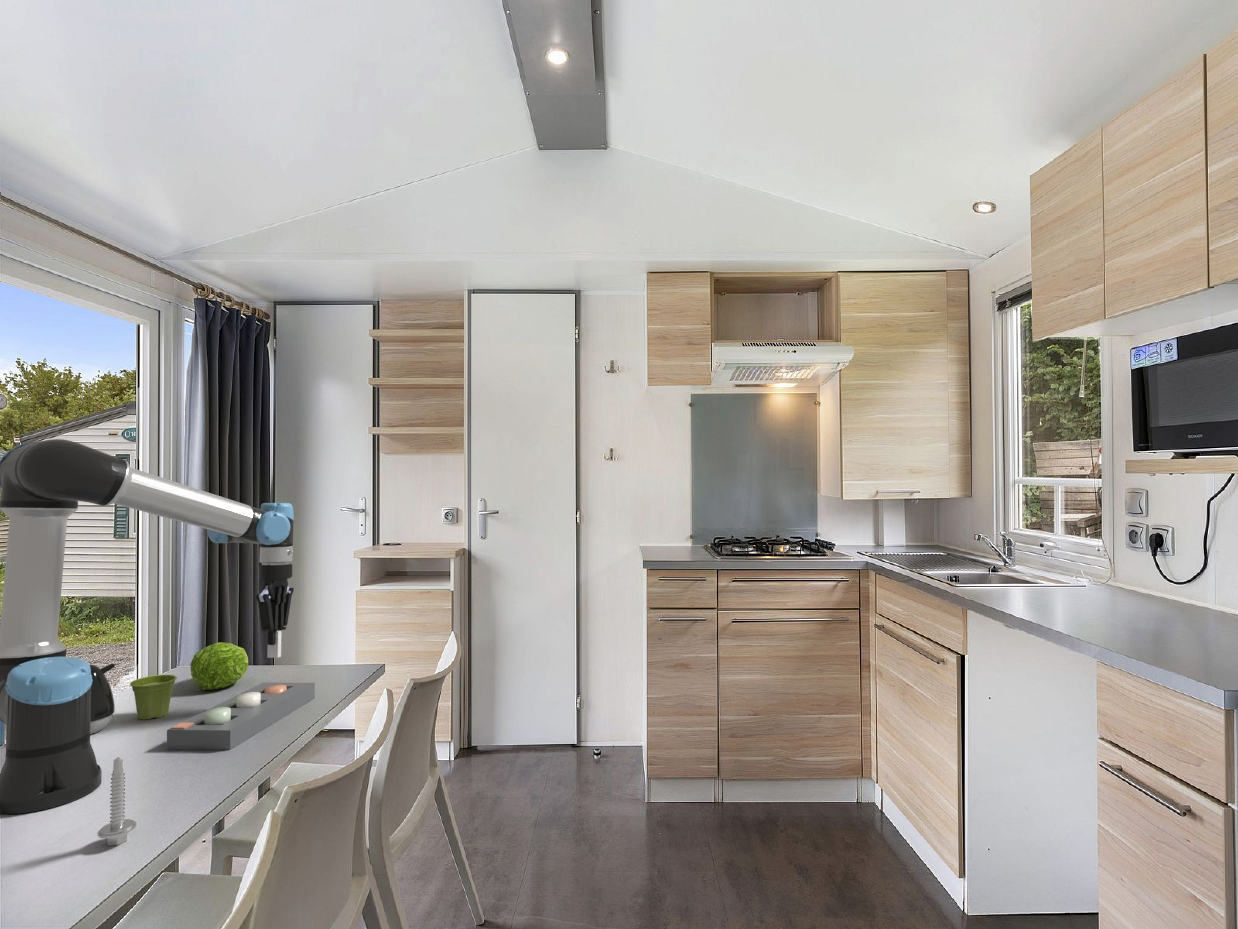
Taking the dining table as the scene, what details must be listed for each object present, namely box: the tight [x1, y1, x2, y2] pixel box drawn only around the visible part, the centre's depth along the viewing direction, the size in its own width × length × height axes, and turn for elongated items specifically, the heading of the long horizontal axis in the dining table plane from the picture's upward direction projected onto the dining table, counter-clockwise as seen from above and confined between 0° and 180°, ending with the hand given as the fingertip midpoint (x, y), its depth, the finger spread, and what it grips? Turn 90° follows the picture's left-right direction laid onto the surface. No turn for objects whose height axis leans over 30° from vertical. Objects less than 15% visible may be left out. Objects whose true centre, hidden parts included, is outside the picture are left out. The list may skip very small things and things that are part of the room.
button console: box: [166, 682, 316, 751], centre depth 157 cm, size 34×14×4 cm, turn 176°
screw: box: [96, 756, 137, 847], centre depth 103 cm, size 13×5×5 cm
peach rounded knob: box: [264, 685, 287, 693], centre depth 168 cm, size 5×5×4 cm
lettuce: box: [190, 642, 249, 691], centre depth 189 cm, size 13×22×14 cm
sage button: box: [204, 707, 231, 725], centre depth 146 cm, size 5×5×4 cm
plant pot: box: [129, 673, 178, 720], centre depth 162 cm, size 9×9×9 cm
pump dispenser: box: [89, 663, 116, 735], centre depth 151 cm, size 10×10×15 cm
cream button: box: [236, 692, 261, 708], centre depth 157 cm, size 5×5×4 cm
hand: (274, 657), depth 168 cm, fingers closed
